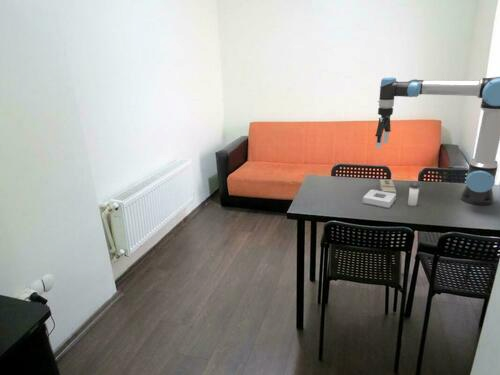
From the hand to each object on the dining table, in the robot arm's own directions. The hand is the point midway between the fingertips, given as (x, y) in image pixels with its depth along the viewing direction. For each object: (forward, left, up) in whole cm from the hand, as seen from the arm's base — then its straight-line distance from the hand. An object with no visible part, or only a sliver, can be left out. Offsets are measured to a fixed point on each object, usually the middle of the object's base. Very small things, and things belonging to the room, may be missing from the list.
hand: (382, 145), depth 197 cm
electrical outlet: (-4, -5, -29) cm, 29 cm away
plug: (-21, +10, -28) cm, 36 cm away
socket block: (-5, +15, -28) cm, 32 cm away
